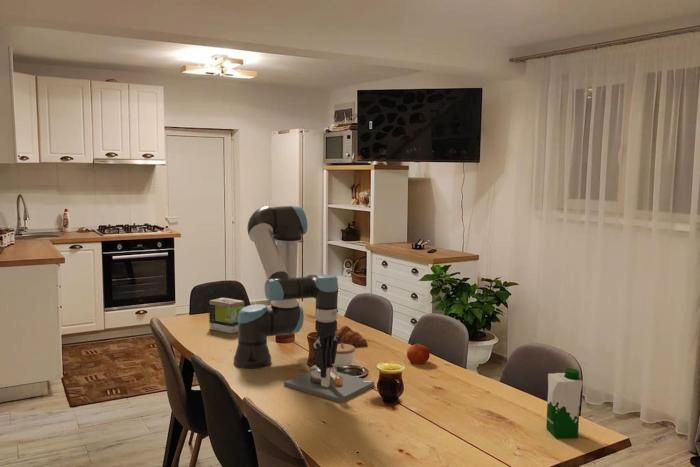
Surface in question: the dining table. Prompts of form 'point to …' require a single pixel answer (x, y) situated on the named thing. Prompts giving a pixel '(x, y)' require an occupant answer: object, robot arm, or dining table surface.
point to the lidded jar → (344, 355)
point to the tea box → (224, 314)
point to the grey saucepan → (334, 379)
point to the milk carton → (564, 403)
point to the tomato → (418, 353)
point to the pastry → (350, 337)
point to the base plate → (330, 387)
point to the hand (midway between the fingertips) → (325, 385)
